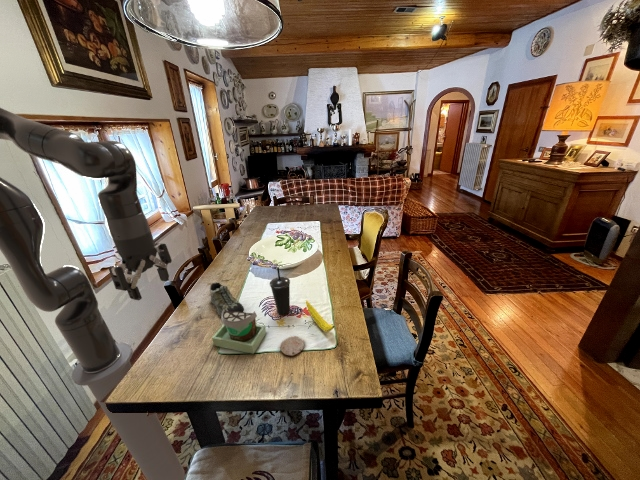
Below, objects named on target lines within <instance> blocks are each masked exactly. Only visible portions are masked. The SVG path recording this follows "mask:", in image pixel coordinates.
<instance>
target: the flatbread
mask: <svg viewBox="0 0 640 480" xmlns="http://www.w3.org/2000/svg"><path fill="white" fill-rule="evenodd" d="M304 347H305V340H304V339H302V338H301V337H299V336H296V335H295V336H294V335H293V336H289V337H286V338H285V339H284V340H282V342H281V343H280V345H279V349H280V351H281V353H282V354H283V355H285V356H290V357H293V356H295V355H297V354H299V353H300V352H301V351H303V349H304Z"/></svg>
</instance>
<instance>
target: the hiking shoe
mask: <svg viewBox="0 0 640 480" xmlns="http://www.w3.org/2000/svg"><path fill="white" fill-rule="evenodd" d="M209 293H210V302H211V304H212V305H214V306H215V307H216V309H217V314H218V315H219V317H220V318H221V315H222V311H223V309H224V310H225V311H230V312H235V311H240V312H245V307H244V306H243V304H242V303H240V301H238V300H237V298H236V297H235V296H233V294H232V292H231V291H230V289H229V287H228V286H227V285H224V284H223V285H222V284H221V283H220V282H214V283H211V284H210V286H209Z"/></svg>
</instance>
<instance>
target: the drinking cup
mask: <svg viewBox="0 0 640 480" xmlns="http://www.w3.org/2000/svg"><path fill="white" fill-rule="evenodd" d="M276 271H277V277H275V278H273V279H271V280H270V281H269V287H270V289H271V293H272V296H273V300H274V304H275V307H276V311H277V314H278V315H280V316H286V315H287V314H289V313H290V312H291V311H290V309H291V308H290V307H291V306H290V304H291V303H290V301H291V300H290V299H291V298H290V297H291V295H290V294H291V293H290V292H291V291H290V288H291V287H290V284H291V280H290V278H289V277H287V276H281V273H280V267H279V266H278V267H276Z"/></svg>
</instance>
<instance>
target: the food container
mask: <svg viewBox="0 0 640 480" xmlns="http://www.w3.org/2000/svg"><path fill="white" fill-rule="evenodd" d="M257 317H258V315H257V312H256V311H253V312H245V311H243V312H240V311H235V312H230V311H225V310H224V309H223V311H222V315H221V317H220V318H221V323H222V325H223V324H224V325H225V326H226V328H227V330H228V333H229V335H230V338H231V340H235V341H240V342H246V341H249V340H250V339H252V338H253V337H254V336H255V335H256V325H257V322H256V321H257V320H256V318H257Z"/></svg>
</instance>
